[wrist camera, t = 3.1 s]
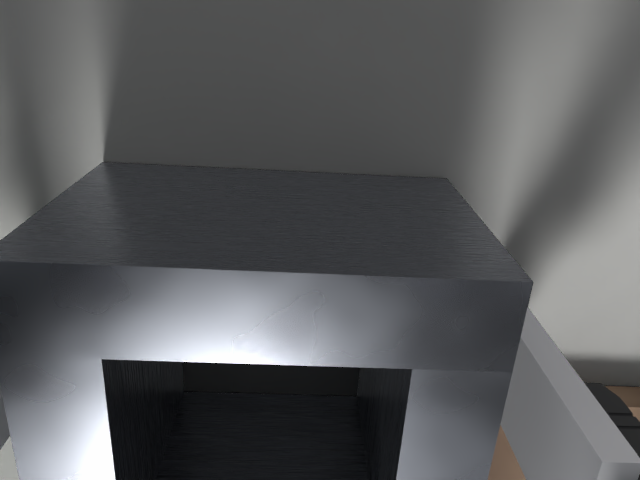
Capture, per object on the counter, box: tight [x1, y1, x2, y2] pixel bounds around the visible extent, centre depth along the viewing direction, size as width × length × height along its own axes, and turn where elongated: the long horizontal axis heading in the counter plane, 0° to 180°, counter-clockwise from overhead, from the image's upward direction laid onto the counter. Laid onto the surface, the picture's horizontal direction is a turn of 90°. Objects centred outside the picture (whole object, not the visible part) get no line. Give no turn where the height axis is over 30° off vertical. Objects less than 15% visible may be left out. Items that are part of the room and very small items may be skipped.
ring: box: [0, 162, 533, 480], centre depth 13 cm, size 9×9×6 cm
